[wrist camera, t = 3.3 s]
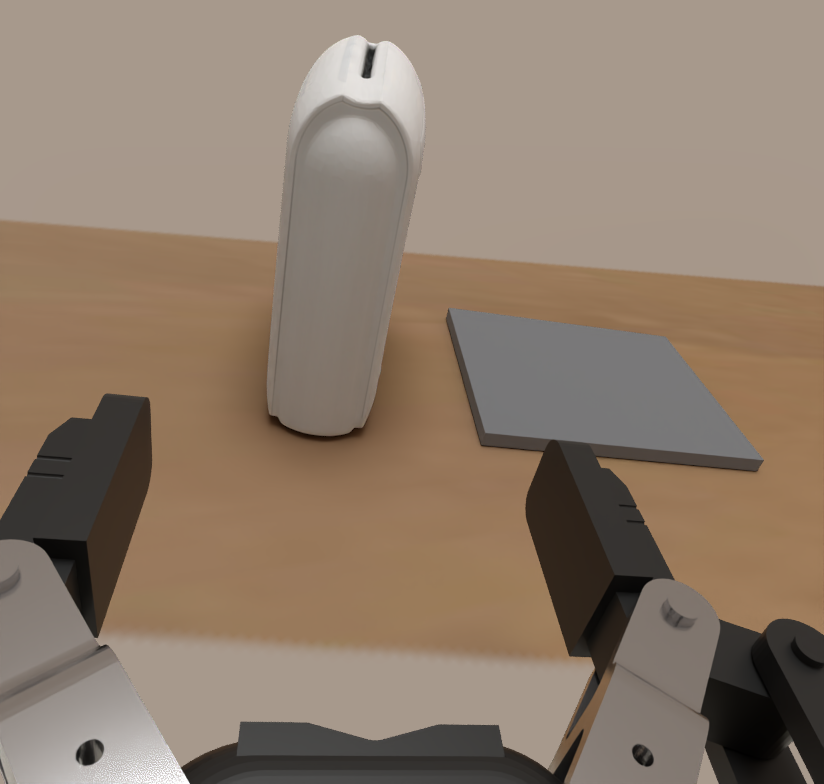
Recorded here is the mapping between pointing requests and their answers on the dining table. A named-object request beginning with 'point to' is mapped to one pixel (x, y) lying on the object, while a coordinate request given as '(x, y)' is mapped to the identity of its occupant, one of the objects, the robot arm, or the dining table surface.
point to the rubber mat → (591, 392)
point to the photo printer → (342, 233)
